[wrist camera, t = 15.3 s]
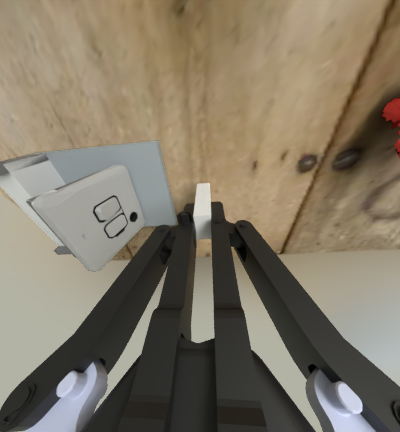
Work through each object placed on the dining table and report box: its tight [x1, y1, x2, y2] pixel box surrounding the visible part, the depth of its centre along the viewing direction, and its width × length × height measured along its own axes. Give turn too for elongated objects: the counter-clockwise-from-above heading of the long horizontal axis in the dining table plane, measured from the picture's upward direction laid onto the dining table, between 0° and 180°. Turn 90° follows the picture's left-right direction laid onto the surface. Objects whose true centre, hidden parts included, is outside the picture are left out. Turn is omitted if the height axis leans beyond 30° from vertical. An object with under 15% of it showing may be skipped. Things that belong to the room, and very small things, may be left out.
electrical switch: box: [26, 165, 145, 272], centre depth 17 cm, size 9×5×9 cm, turn 3°
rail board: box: [0, 140, 177, 255], centre depth 19 cm, size 12×16×6 cm
